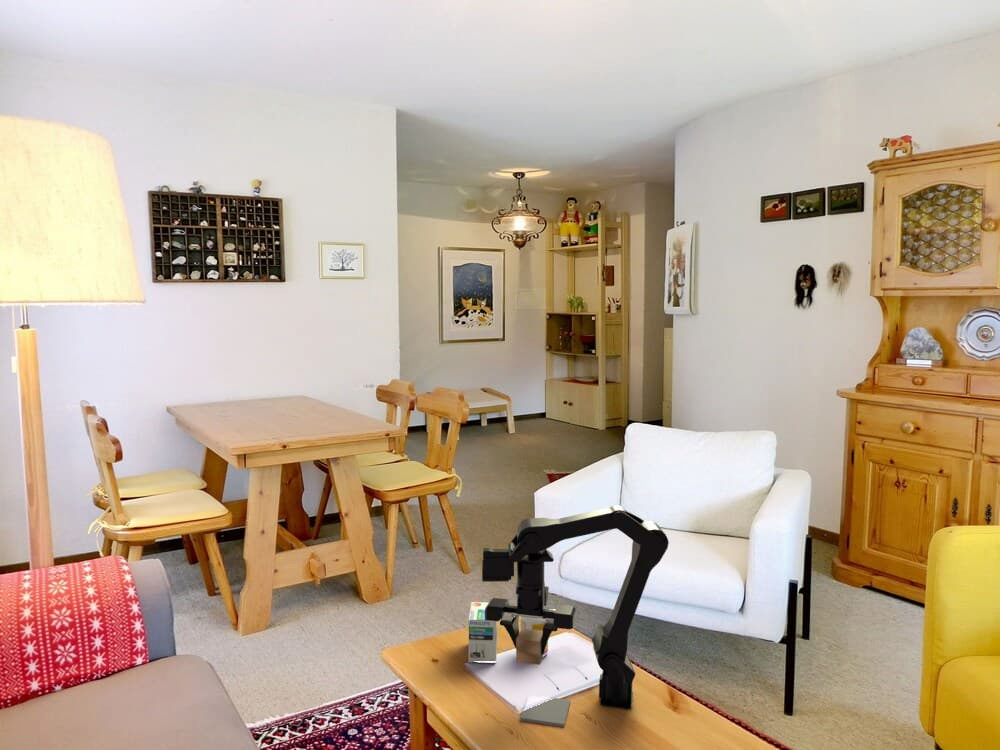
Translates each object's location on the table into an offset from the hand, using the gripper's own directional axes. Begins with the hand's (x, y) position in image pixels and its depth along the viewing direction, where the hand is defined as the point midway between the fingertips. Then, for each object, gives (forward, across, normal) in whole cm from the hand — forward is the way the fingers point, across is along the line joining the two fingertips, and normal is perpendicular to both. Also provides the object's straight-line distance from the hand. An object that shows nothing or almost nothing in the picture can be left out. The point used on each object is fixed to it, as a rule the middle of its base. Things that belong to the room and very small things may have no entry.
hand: (530, 651), depth 152 cm
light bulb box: (+11, +16, -17) cm, 26 cm away
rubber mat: (+11, -4, +3) cm, 12 cm away
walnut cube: (+1, 0, 0) cm, 1 cm away
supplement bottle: (+11, +4, -20) cm, 24 cm away
